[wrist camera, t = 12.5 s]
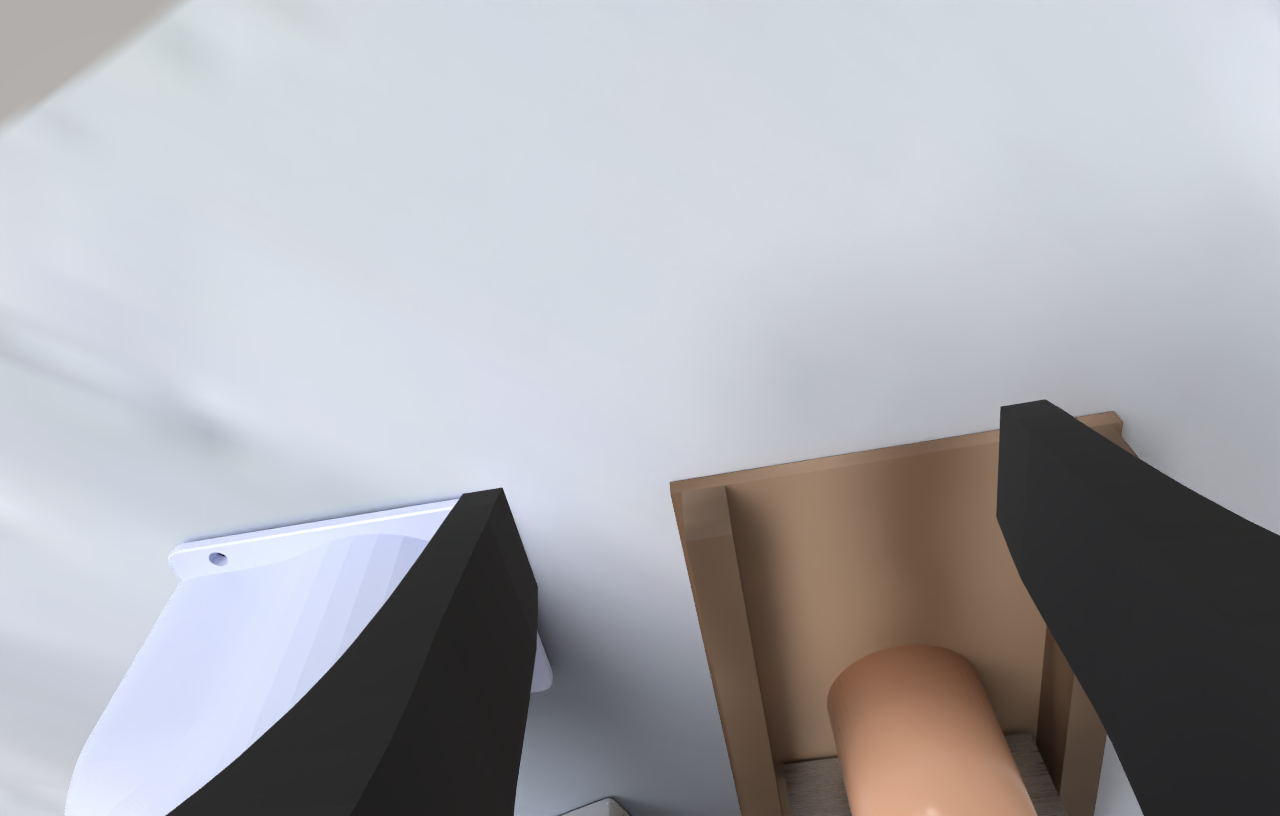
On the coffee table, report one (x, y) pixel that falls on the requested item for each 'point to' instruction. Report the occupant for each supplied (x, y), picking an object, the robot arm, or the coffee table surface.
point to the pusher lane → (871, 602)
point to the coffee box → (600, 809)
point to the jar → (922, 738)
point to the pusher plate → (825, 801)
